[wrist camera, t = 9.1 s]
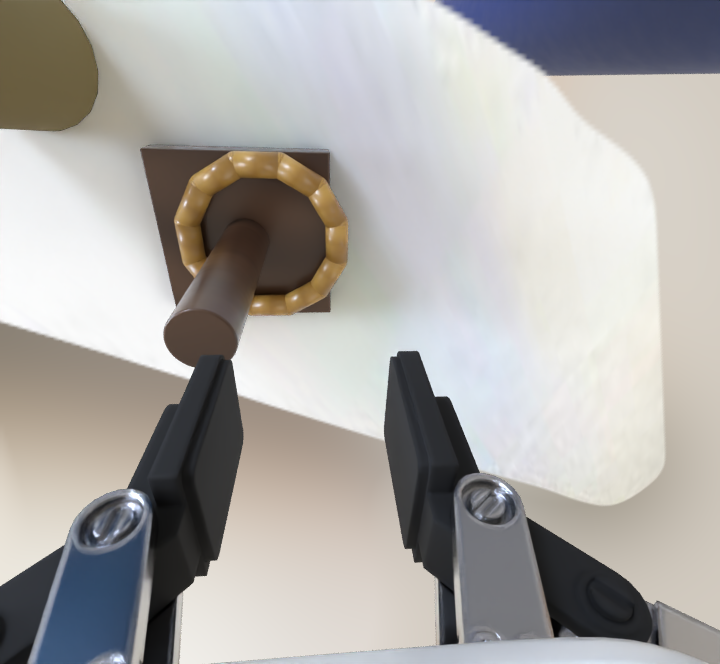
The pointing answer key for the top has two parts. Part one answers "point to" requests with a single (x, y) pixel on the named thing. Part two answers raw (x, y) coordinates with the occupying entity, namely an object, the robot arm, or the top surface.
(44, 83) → the cork
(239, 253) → the rack
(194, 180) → the ring
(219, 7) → the top surface
